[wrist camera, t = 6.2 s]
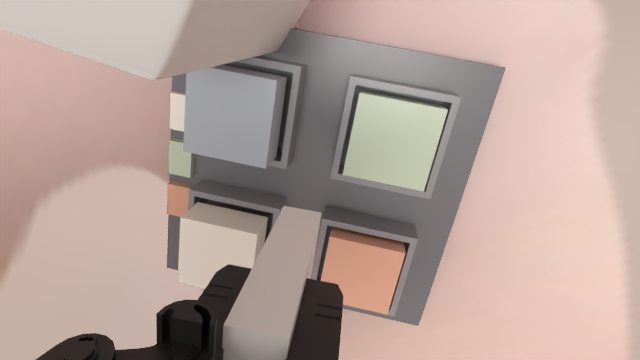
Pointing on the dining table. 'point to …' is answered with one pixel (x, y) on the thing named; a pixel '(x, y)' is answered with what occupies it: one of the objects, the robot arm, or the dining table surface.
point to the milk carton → (155, 30)
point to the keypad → (345, 153)
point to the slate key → (233, 114)
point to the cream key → (217, 242)
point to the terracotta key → (363, 268)
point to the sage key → (394, 139)
